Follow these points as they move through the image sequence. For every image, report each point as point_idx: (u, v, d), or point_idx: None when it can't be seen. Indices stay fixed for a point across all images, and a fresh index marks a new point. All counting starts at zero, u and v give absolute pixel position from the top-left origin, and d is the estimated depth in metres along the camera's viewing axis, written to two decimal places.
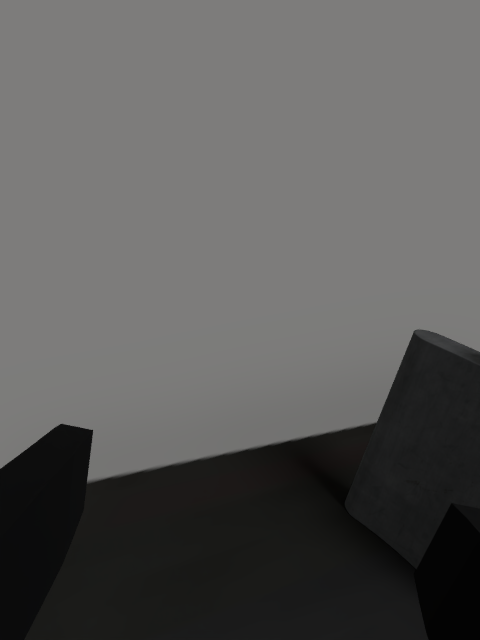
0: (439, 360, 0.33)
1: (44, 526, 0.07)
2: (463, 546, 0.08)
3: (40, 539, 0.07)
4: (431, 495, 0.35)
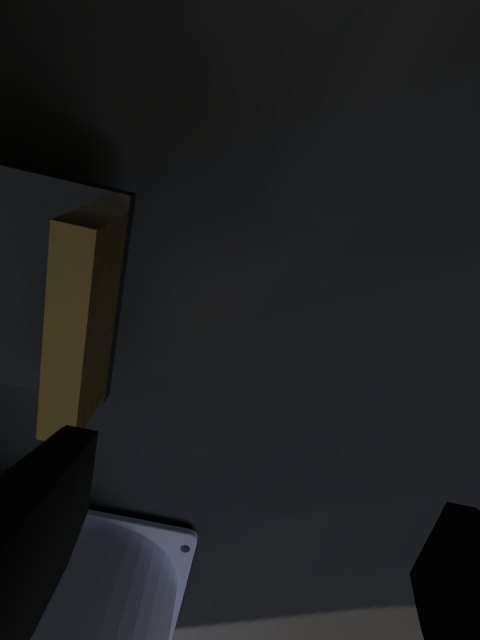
0: None
1: (50, 527, 0.07)
2: (458, 545, 0.08)
3: (46, 541, 0.07)
4: None
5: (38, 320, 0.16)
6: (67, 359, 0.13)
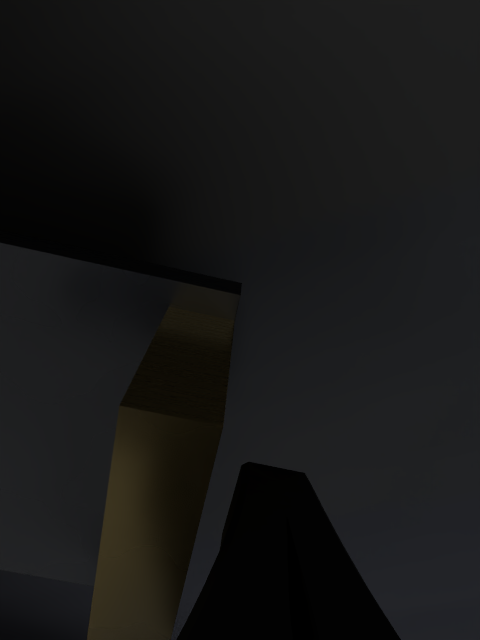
0: None
1: None
2: None
3: None
4: None
5: (68, 485, 0.10)
6: (139, 639, 0.07)
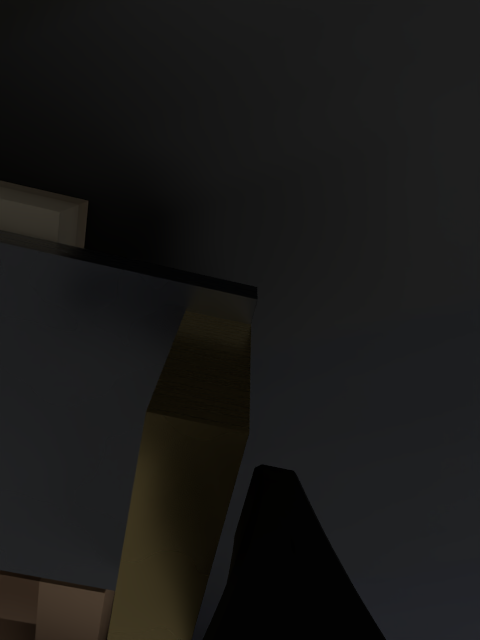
0: None
1: None
2: None
3: None
4: None
5: (80, 488, 0.10)
6: None
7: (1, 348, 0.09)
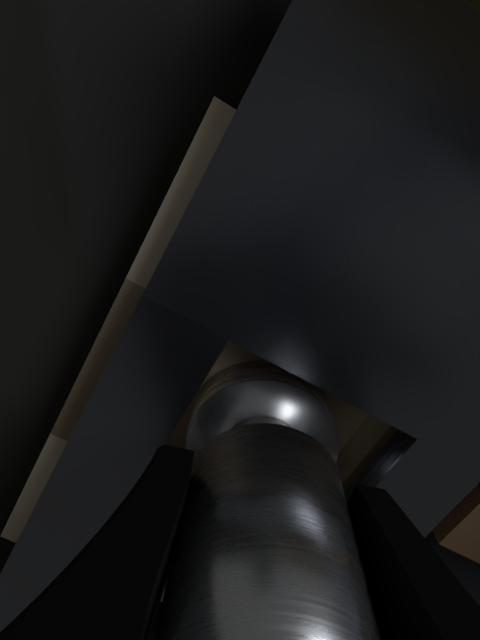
0: None
1: (170, 550, 0.07)
2: (360, 526, 0.08)
3: (167, 563, 0.07)
4: None
5: None
6: None
7: (330, 203, 0.08)
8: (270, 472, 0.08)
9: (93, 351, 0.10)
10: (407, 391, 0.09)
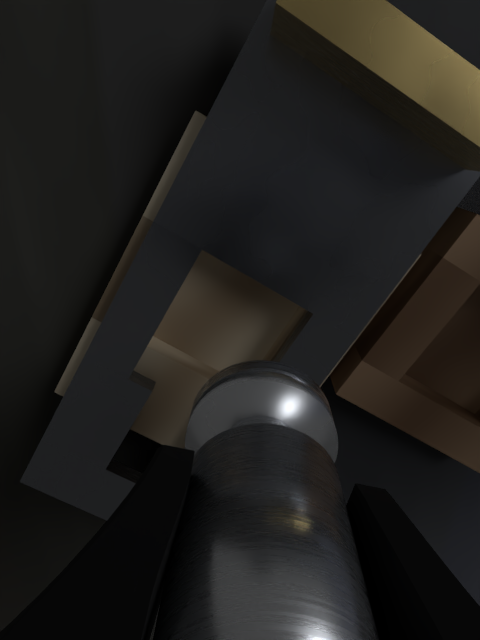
0: None
1: (170, 550, 0.07)
2: (360, 526, 0.08)
3: (166, 563, 0.07)
4: None
5: (370, 169, 0.14)
6: (444, 74, 0.10)
7: (257, 170, 0.14)
8: (268, 472, 0.08)
9: (121, 261, 0.16)
10: (305, 282, 0.15)
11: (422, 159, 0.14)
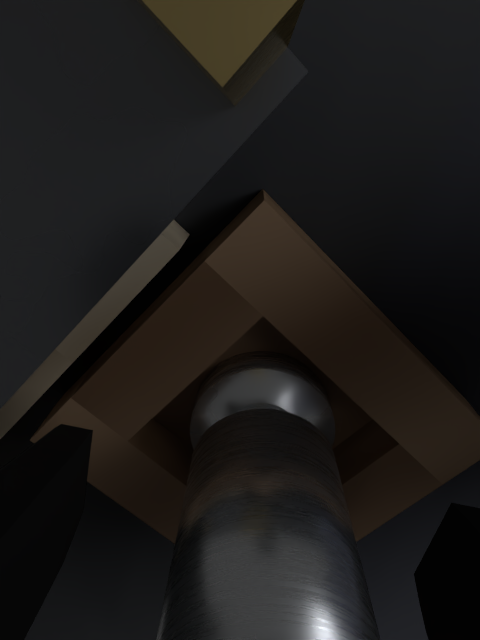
0: None
1: (44, 526, 0.07)
2: (463, 546, 0.08)
3: (40, 540, 0.07)
4: None
5: (64, 61, 0.07)
6: None
7: None
8: (269, 452, 0.08)
9: None
10: None
11: (158, 66, 0.07)
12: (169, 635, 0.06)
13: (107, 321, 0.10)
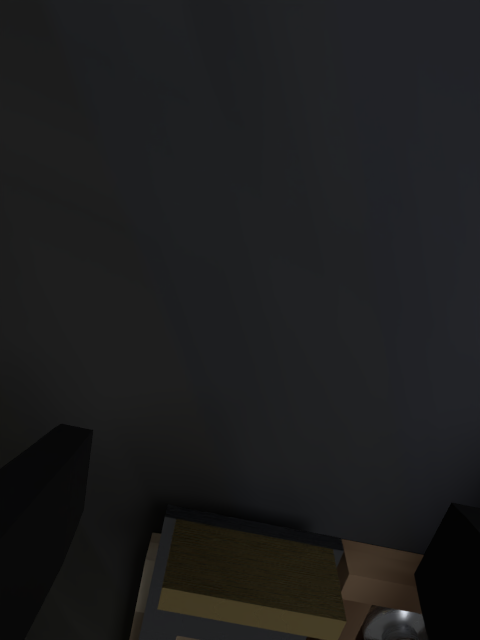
0: None
1: (44, 526, 0.07)
2: (463, 546, 0.08)
3: (39, 539, 0.07)
4: None
5: None
6: (264, 614, 0.17)
7: None
8: None
9: (131, 634, 0.24)
10: (250, 637, 0.22)
11: None
12: None
13: None
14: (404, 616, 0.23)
